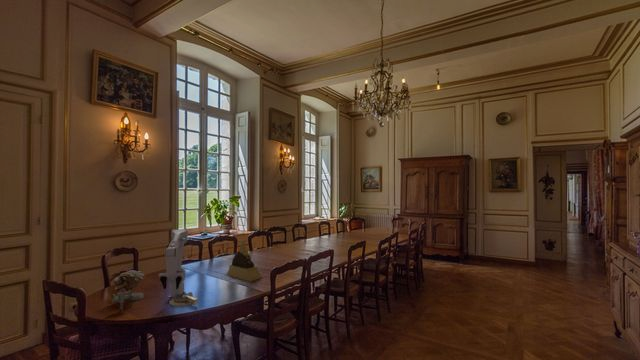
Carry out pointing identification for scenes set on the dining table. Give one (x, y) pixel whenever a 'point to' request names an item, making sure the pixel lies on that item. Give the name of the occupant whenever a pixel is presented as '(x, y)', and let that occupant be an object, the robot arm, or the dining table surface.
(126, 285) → the cherub figurine
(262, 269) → the dining table surface
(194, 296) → the flange plate
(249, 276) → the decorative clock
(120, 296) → the mechanical component
